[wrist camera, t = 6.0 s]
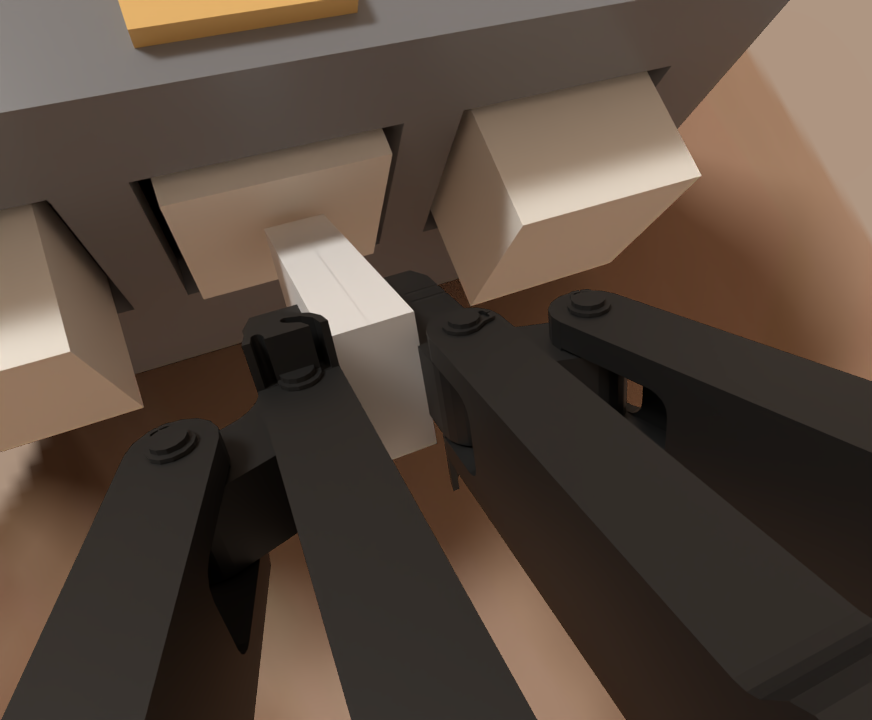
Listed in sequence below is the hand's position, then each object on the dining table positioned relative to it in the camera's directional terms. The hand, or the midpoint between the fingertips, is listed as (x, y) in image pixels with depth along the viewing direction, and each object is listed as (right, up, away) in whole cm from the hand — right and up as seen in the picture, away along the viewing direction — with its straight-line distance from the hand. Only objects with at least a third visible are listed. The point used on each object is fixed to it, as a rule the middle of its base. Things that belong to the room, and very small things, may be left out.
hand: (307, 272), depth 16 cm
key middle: (-2, +2, +3) cm, 4 cm away
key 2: (+6, +2, +5) cm, 8 cm away
